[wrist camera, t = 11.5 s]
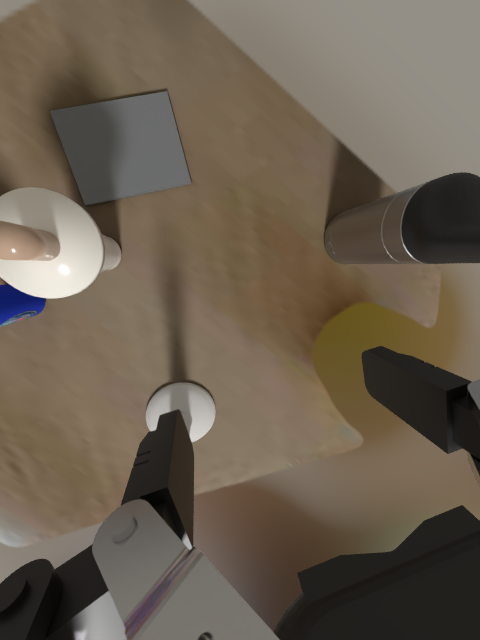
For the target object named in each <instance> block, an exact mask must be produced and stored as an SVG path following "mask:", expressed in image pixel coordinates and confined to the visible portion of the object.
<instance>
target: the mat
mask: <svg viewBox="0 0 480 640" xmlns="http://www.w3.org/2000/svg"><path fill="white" fill-rule="evenodd" d="M50 114H51V116H52V119H53V122H54V124H55V127H56V130H57V132H58V135H59V138H60V140H61V143H62V146H63V148H64V151H65V154H66V156H67V159H68V161H69V164H70V167H71V169H72V172H73V175H74V177H75V180H76V183H77V185H78V188H79V191H80V193H81V196H82V199H83V201H84V204H85V205H86V206H89V205H94V204H99V203H104V202H108V201H113V200H118V199H122V198H127V197H132V196H136V195H141V194H146V193H151V192H155V191H160V190H165V189H169V188H174V187H179V186H184V185H188V184H191V179H190V176H189V172H188V168H187V164H186V161H185V157H184V153H183V149H182V145H181V142H180V138H179V134H178V130H177V126H176V123H175V119H174V115H173V111H172V108H171V104H170V100H169V96H168V92H167V91H165V92H159V93H153V94H147V95H141V96H135V97H129V98H123V99H117V100H111V101H105V102H99V103H93V104H87V105H81V106H75V107H69V108H63V109H57V110H51V111H50Z"/></svg>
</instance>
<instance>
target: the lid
mask: <svg viewBox="0 0 480 640" xmlns="http://www.w3.org/2000/svg"><path fill="white" fill-rule="evenodd" d="M104 260H105V245H104V240H103V237H102V234H101V232H100V229H99V227H98V226H97V224H96V222H95V221H94V219H93V218H92V217H91V215H90V214H89V213H88V212H87V211H86V210H85V209H84V208H82V207H81V206H80V205H79V204H77V203H76V202H74V201H73V200H71V199H69V198H67V197H65V196H63V195H61V194H59V193H56V192H54V191H51V190H47V189H43V188H19V189H16V190H12V191H10V192H7V193H5V194H3V195H2V196H0V277H1V278H2V279H3V280H5V281H6V282H7V283H8V284H10V285H11V286H13V287H14V288H16V289H18V290H20V291H21V292H24V293H26V294H29V295H32V296H36V297H41V298H62V297H67V296H71V295H74V294H77V293H79V292H81V291H83V290H85V289H86V288H88V287H89V286H90V285H91V284H93V283H94V281H95V280H96V279H97V278H98V276H99V274H100V273H101V270H102V268H103V265H104Z"/></svg>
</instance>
